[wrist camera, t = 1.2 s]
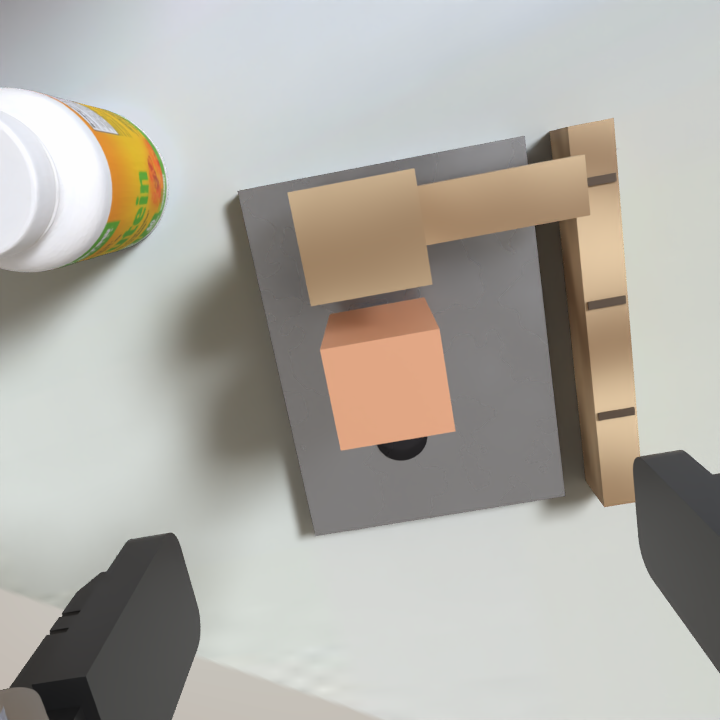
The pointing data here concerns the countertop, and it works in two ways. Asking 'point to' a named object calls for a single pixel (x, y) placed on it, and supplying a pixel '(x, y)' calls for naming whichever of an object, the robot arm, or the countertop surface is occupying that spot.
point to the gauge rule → (491, 215)
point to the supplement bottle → (73, 182)
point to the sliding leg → (386, 374)
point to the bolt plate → (461, 355)
